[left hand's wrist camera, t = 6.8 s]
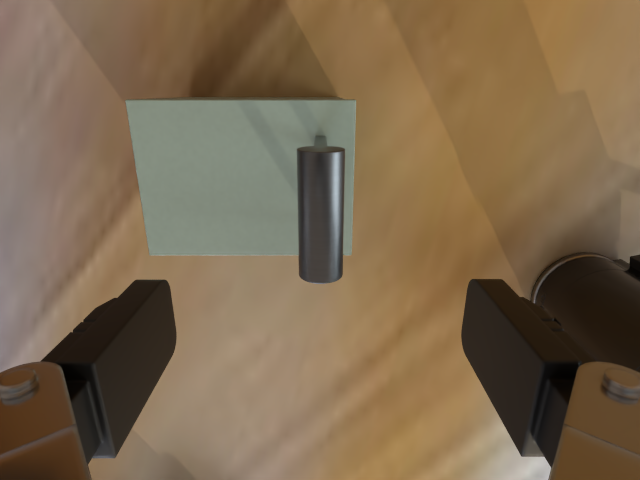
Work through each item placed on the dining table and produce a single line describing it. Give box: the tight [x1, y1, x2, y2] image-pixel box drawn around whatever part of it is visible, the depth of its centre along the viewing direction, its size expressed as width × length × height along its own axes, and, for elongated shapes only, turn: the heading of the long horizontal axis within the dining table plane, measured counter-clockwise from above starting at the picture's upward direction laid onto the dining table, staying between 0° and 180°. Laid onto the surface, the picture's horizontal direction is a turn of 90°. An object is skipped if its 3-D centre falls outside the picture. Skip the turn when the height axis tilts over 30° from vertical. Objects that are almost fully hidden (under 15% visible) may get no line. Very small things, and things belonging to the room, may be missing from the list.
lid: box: [126, 99, 356, 284], centre depth 23 cm, size 14×10×9 cm
